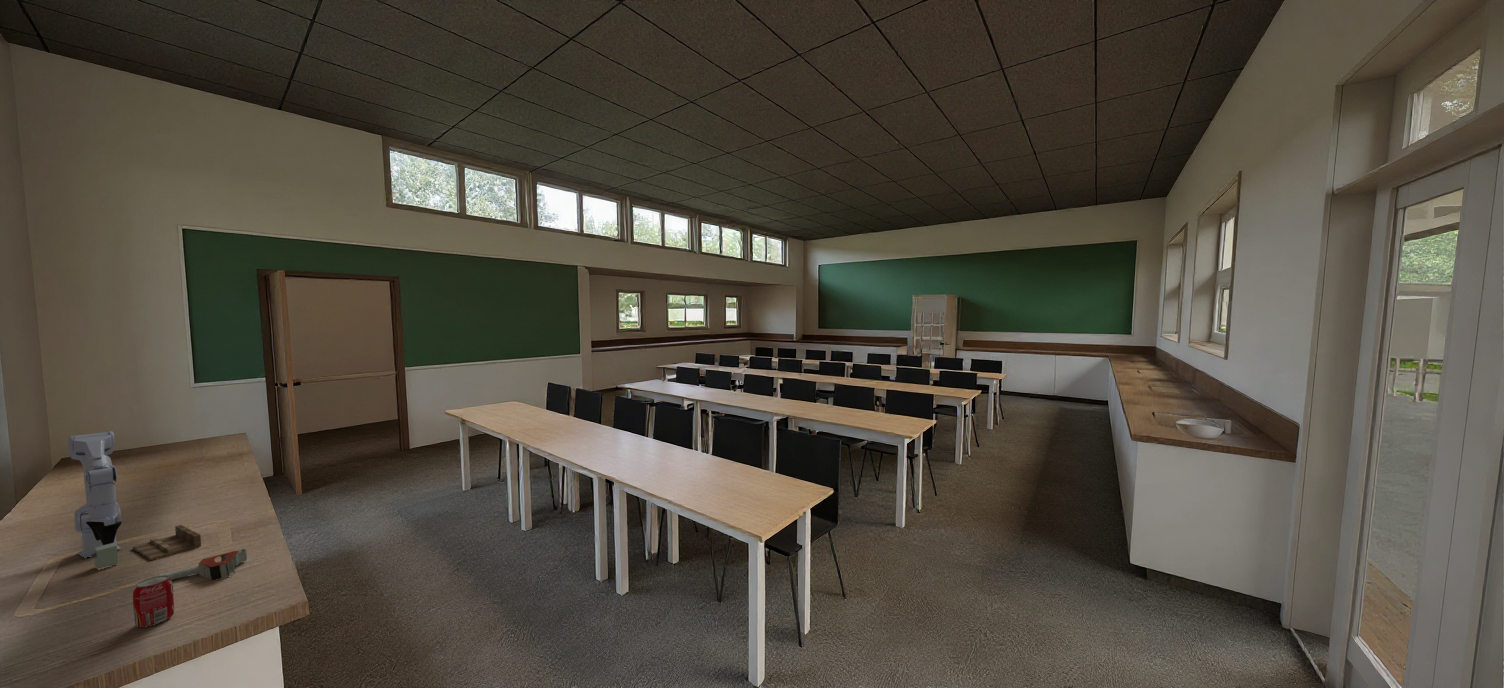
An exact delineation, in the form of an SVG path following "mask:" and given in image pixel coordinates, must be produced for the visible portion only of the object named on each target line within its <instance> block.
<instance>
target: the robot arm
mask: <svg viewBox="0 0 1504 688" xmlns="http://www.w3.org/2000/svg"><path fill="white" fill-rule="evenodd" d="M67 444H68V445H67V446H68V447H67V448H68V453H69V457H70V459H71V460H76V461H80V463H81V465H82V469H83V470H82V471H83V482H84V483H83V484H84V489H85V501H86V503H85V504H82V506H80V507H79V508H78V509H76V510H75V511H74V516H73V520H74V522H73V523H74V530H75V532H77V533H81V548H82V549H81V551H77V554H78V555H80V556H81V558H83V557H84V558H83V559H88V558H87V557H90V558H92V557H91V554H94V548H95V547H99V546H103V545H107V544H111V543H114V544H115V545H117V536H116V535H117V532H118V530H119V528H120V527H121V525H122V522H123V521H122V513H121V508H120V503H118V502H117V492H116V491H117V490H116V484H117V482H118V472H117V471H118V470H117V468H116V467H115V465H113V462H112V459H111V457H110V456H109V455H111V454H113V451H114V450H115V445H116V438H115V433H114V431H112V430H110V431H109V430H108V431H106V432H96V433H90V434H89V433H87V434H78V435H70V436H69V437H68V438H67ZM121 549H122V548H121V547H120V546H119V545H117V551H119V550H121Z"/></svg>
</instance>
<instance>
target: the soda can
mask: <svg viewBox="0 0 1504 688" xmlns="http://www.w3.org/2000/svg"><path fill="white" fill-rule="evenodd" d="M135 586H136V587H135V588H134V590H133V592H132V606H133V607H132V609H133V621H134V624H135V626H136V627H138V628H147V627H146V626H150V627H152V626H151V625H154V624H157V625H159V624H158V623H160V622H162V623H164V622H166V621H168V620H169V619H170V618H171V617H172V616H173V615H174V613H175V597H174V596H175V593H174V583H173V580H170V579H169V576H167V575H162V576H158V575H157V576H153V577H149V578H145V579H143V580H141V581H139V582H138V583H136V585H135ZM168 618H169V619H168ZM167 619H168V620H167ZM165 620H166V621H165ZM163 621H164V622H163ZM160 624H161V623H160ZM154 626H155V625H154Z"/></svg>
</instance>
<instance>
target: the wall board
mask: <svg viewBox="0 0 1504 688" xmlns="http://www.w3.org/2000/svg"><path fill="white" fill-rule="evenodd" d="M174 528H175V529H174V531H175V535H171V536H166V537H163V538H159V539H158V538H157V537H151V538H149V541H148V542H144V543H141V544H136V545H133V546H132V550H133V549H134V550H133V551H135V552H136V553H138V552H139V553H138V554H140V555H141V554H142V555H141V556H142V557H144V556H145V557H144V558H145V559H147V558H148V559H147V560H148V561H150V560H152V561H155V560H154V559H156V560H158V559H157V558H159V559H161V558H160V557H163V556H166V557H168V556H167V555H169V556H172V555H171V554H173V555H176V554H180V553H182V552H186V550H187V551H189V549H190V550H194V549H197V548H200V547H199V546H201V547H202V540H201V534H200V533H199V532H196V531H194V530H192V529H190V528H188V527H186V526H184V525H182V524H180V525H175V527H174ZM196 547H197V548H196ZM193 548H194V549H193ZM179 552H180V553H179ZM175 553H176V554H175ZM163 558H164V557H163Z"/></svg>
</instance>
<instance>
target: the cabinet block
mask: <svg viewBox="0 0 1504 688" xmlns="http://www.w3.org/2000/svg"><path fill="white" fill-rule="evenodd" d="M117 546H118V545H117V544H116V545H115V544H114V543H111V544H107V545H103V546H99V547H95V548H94V554H91V557H90V558H92V559H93V560H94V567H95V566H96V567H97V568H102V567H106V566H112V565H116V564H118V565H119V560H118V557H119V556H118V550H117Z"/></svg>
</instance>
